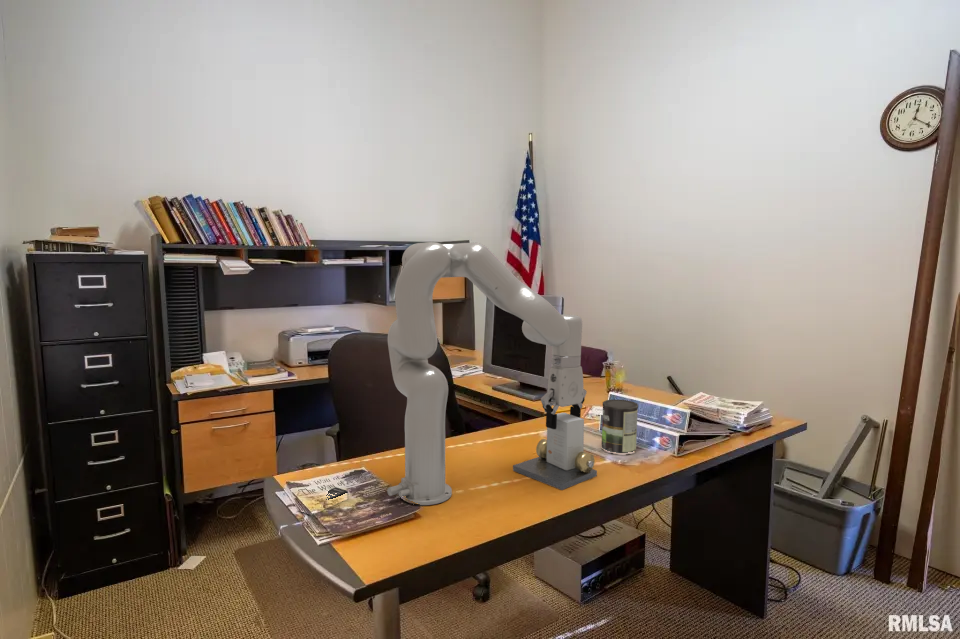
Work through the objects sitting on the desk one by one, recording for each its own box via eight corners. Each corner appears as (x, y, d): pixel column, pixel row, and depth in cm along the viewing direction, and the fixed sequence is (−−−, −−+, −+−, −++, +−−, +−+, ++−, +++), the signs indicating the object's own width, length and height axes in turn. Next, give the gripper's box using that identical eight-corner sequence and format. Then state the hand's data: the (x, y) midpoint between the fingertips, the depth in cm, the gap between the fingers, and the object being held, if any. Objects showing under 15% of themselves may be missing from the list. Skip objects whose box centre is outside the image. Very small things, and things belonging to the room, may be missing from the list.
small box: (583, 466, 151) (584, 418, 150) (565, 471, 148) (566, 422, 146) (563, 457, 158) (564, 411, 157) (545, 462, 155) (546, 415, 153)
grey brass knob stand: (563, 490, 139) (563, 465, 138) (511, 470, 152) (511, 446, 152) (598, 476, 148) (599, 452, 148) (546, 458, 162) (547, 436, 161)
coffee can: (604, 455, 165) (605, 407, 163) (598, 443, 175) (599, 399, 173) (640, 456, 164) (642, 408, 163) (632, 444, 174) (633, 399, 173)
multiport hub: (298, 512, 127) (297, 502, 127) (336, 495, 136) (335, 486, 136) (311, 517, 125) (311, 507, 125) (348, 500, 134) (348, 490, 134)
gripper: (555, 366, 141) (552, 434, 143) (597, 360, 153) (594, 423, 154) (533, 362, 147) (530, 427, 148) (575, 356, 158) (572, 417, 160)
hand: (563, 425), depth 151 cm, fingers open, 9 cm apart
